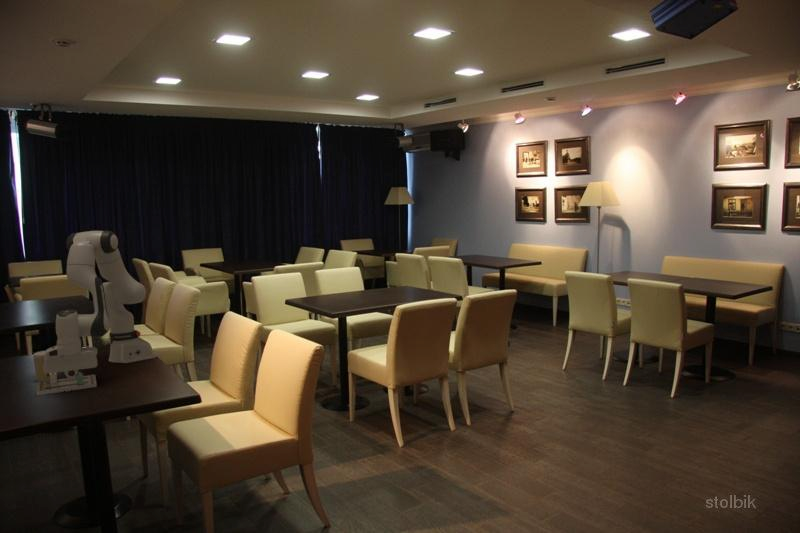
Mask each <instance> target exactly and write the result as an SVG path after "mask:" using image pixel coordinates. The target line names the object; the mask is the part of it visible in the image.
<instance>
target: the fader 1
mask: <svg viewBox="0 0 800 533" xmlns="http://www.w3.org/2000/svg"><path fill="white" fill-rule="evenodd" d="M57 380H58V372H57V373H50V384H53V383H57Z"/></svg>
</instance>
